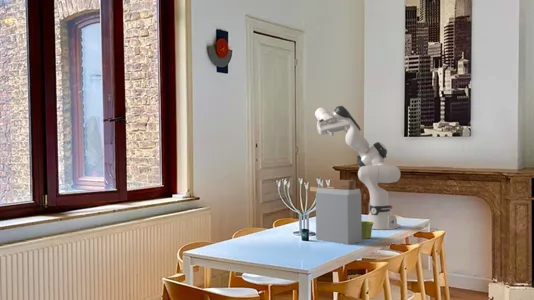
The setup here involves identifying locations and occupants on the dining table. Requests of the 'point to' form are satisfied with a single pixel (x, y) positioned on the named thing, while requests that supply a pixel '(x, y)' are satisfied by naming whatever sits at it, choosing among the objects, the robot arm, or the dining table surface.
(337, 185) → the handled block
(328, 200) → the grey box
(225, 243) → the dining table surface
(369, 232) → the plant pot
